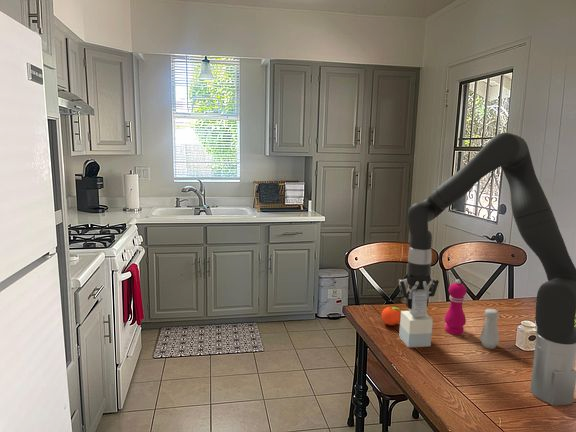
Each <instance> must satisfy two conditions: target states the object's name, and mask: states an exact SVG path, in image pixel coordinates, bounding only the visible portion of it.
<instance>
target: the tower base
mask: <svg viewBox="0 0 576 432" xmlns="http://www.w3.org/2000/svg"><path fill="white" fill-rule="evenodd" d="M398 332H399V333H398V334H399V336H398V337H399V338H400V339H401V341H402V342H403V343H404V345H406V347H407V348H420V347H422V348H423V347H431V346H432V333H433V332H432V333H427V334H409V333H408V332H407V331H406V330H405V329H404V328H403V327H402V326H401V325H400V324H399V331H398Z"/></svg>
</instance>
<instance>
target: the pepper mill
mask: <svg viewBox="0 0 576 432" xmlns="http://www.w3.org/2000/svg"><path fill="white" fill-rule="evenodd" d="M448 294H449V298H448V299H449V301H450V304H449V307H448V310H447V311H446V313H445V316H444V322H445V325H444V327H445V328H444V330H445V331H446V332H447V333H448V334H451V335H453V336H454V335H456V336H457V335H458V336H459V335H463V334H464V330H465V328H464V326H465V325H466V324H467V323H466V315H465V312H464V310H463V303H464V302H465V297H464V296H466V294H467V288H466V286H465V285H464V284H463V283H461V279H455V282H454V283H451V284H450V285H449V287H448Z"/></svg>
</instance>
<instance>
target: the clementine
mask: <svg viewBox="0 0 576 432" xmlns="http://www.w3.org/2000/svg"><path fill="white" fill-rule="evenodd" d="M399 310H400V311H401V309H400V308H398V307H395V306H387V307H385V308H384V309H383V310H382V312H381V320H382V321H383V323H384V324H386V325H387V326H395V325H397V324H398V323H399V322H400V319H401V312H400V311H399Z"/></svg>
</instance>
